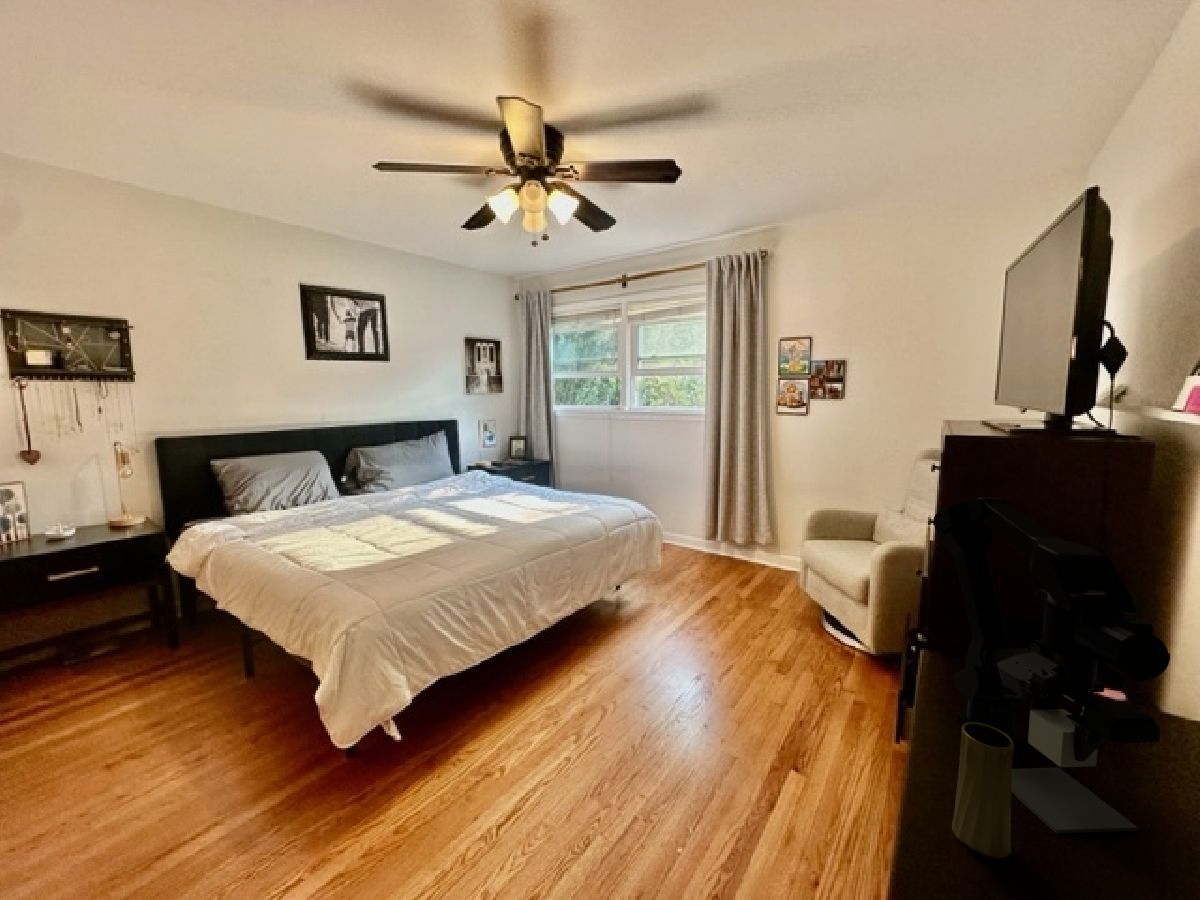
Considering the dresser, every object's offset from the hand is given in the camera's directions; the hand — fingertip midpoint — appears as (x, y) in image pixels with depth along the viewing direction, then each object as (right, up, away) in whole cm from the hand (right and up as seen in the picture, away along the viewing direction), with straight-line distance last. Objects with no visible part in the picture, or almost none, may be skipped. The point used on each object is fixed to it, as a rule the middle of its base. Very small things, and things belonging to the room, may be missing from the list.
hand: (1061, 747), depth 71 cm
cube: (0, -1, 0) cm, 1 cm away
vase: (-16, -9, -6) cm, 19 cm away
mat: (0, -8, +1) cm, 8 cm away
